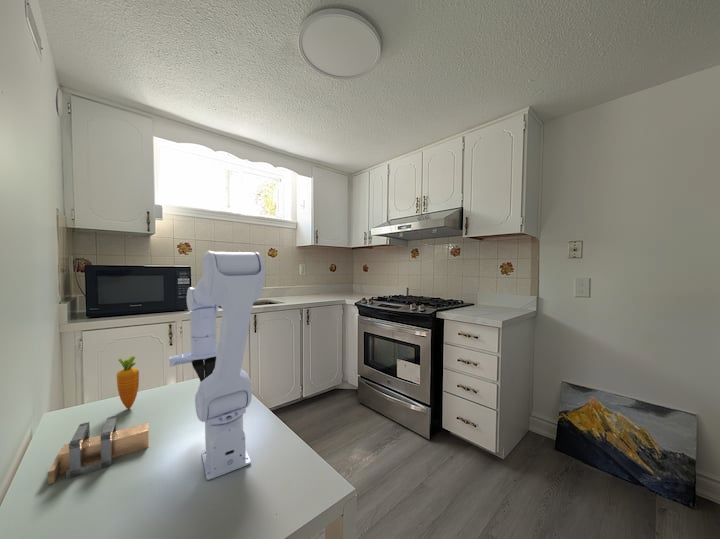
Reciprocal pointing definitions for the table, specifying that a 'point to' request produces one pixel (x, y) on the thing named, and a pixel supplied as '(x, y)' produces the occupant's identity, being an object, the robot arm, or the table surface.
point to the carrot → (128, 382)
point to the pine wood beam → (121, 445)
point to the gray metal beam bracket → (76, 449)
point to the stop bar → (54, 470)
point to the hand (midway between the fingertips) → (204, 388)
